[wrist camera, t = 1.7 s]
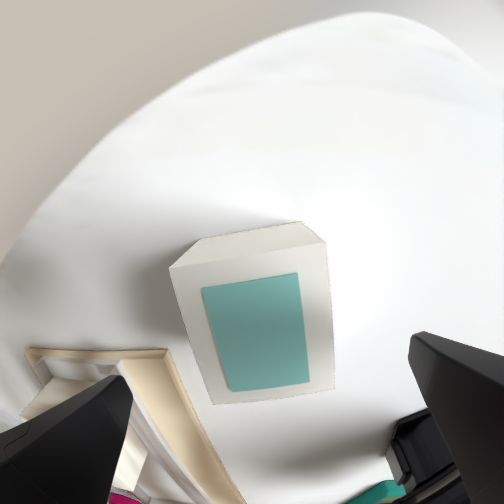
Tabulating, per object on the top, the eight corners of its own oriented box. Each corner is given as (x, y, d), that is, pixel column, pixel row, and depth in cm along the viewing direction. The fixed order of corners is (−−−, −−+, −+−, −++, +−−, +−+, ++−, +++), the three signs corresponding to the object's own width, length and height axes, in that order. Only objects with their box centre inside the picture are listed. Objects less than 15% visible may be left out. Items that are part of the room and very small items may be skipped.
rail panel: (168, 349, 15) (127, 430, 8) (253, 512, 21) (251, 552, 15) (30, 347, 16) (-15, 388, 9) (153, 504, 22) (143, 538, 16)
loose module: (301, 221, 13) (326, 242, 8) (314, 329, 14) (335, 390, 9) (200, 238, 13) (166, 270, 8) (225, 342, 15) (212, 407, 10)
